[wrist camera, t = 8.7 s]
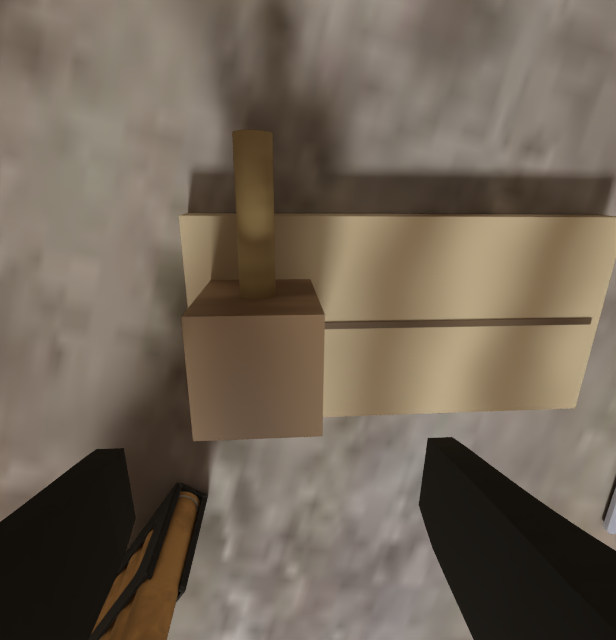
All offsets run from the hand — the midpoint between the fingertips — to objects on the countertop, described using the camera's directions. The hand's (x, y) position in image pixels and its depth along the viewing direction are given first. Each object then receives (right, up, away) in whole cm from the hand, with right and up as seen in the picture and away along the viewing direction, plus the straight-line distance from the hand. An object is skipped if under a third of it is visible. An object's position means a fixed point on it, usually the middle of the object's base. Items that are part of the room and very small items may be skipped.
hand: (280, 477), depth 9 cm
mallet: (-1, +6, +6) cm, 9 cm away
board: (+5, +4, +9) cm, 11 cm away
